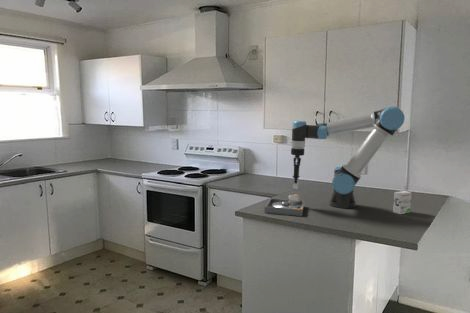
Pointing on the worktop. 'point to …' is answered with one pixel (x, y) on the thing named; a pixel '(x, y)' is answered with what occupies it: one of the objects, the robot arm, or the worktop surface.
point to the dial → (290, 204)
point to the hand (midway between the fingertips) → (295, 188)
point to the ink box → (402, 202)
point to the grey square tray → (284, 210)
